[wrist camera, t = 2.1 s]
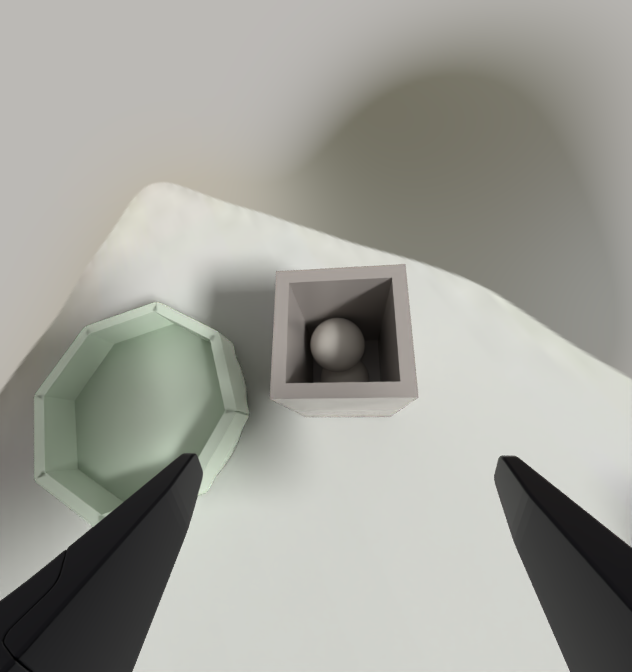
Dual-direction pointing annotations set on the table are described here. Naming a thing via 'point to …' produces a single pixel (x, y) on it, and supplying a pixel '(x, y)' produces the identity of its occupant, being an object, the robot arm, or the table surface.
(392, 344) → the tumbler
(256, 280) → the table surface
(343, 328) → the pebble
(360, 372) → the pebble
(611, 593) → the robot arm
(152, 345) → the dish
